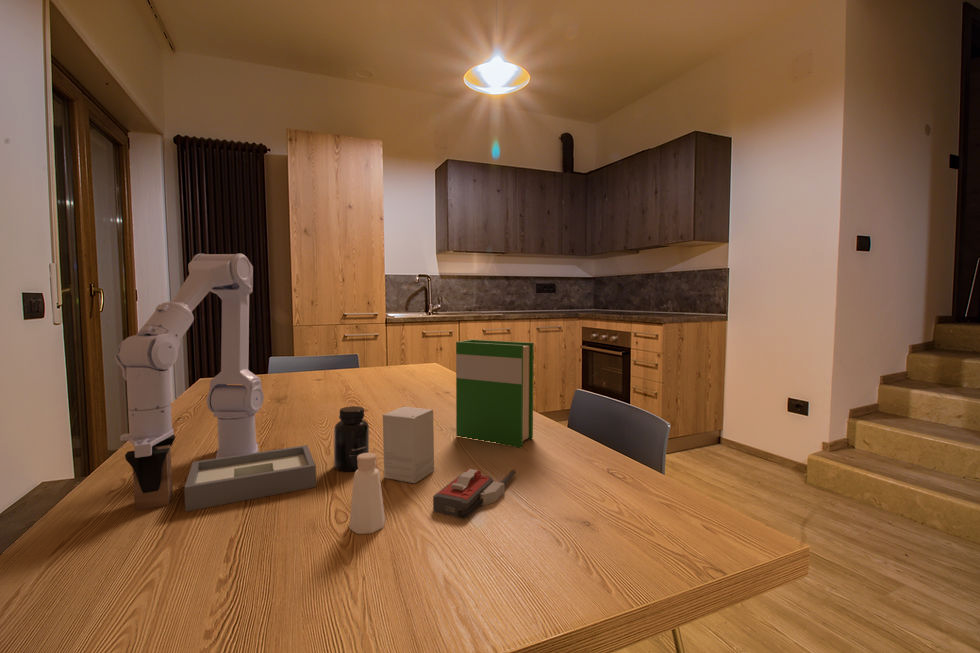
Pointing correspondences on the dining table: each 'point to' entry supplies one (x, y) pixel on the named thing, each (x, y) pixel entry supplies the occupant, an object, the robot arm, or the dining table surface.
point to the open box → (248, 477)
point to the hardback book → (494, 391)
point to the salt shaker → (366, 497)
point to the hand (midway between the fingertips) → (153, 485)
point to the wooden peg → (165, 489)
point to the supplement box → (408, 444)
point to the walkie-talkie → (468, 493)
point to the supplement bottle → (350, 438)
